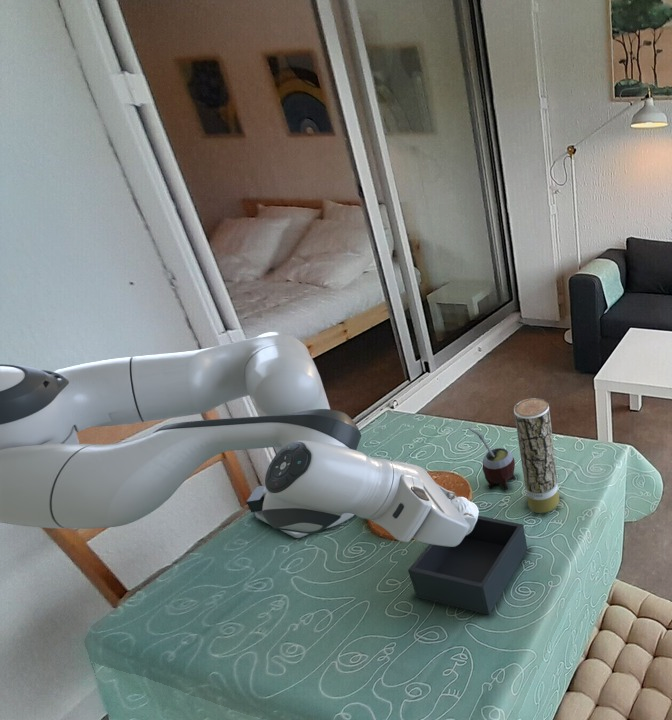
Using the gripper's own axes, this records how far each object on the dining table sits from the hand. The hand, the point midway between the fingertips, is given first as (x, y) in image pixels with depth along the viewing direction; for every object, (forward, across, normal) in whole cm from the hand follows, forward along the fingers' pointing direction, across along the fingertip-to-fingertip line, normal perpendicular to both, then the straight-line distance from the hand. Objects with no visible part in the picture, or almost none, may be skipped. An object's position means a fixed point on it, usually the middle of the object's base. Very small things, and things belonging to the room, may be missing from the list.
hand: (463, 509), depth 87 cm
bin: (+10, 0, -11) cm, 15 cm away
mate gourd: (+22, -20, 0) cm, 29 cm away
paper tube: (+24, -7, +3) cm, 25 cm away
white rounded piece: (+3, 0, -4) cm, 5 cm away
